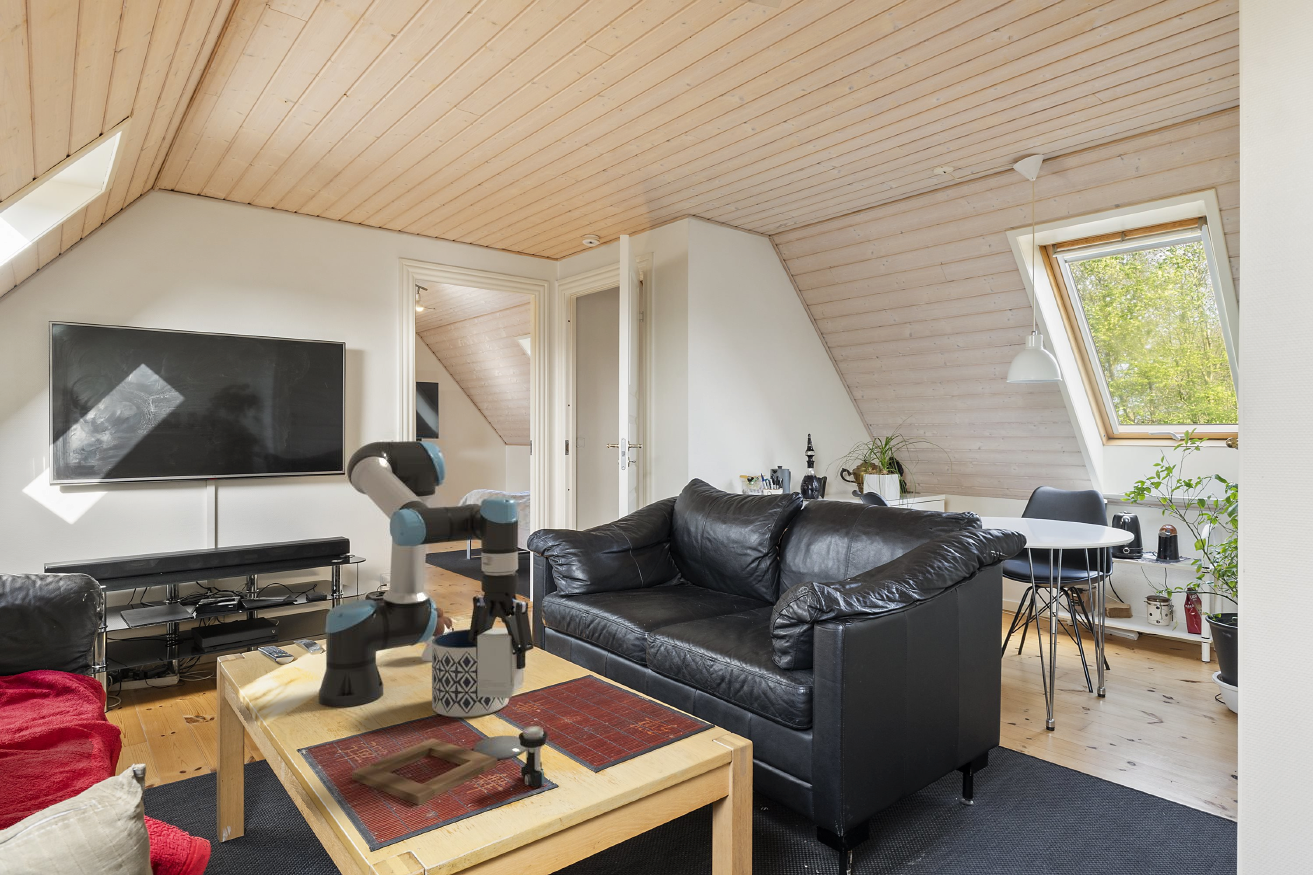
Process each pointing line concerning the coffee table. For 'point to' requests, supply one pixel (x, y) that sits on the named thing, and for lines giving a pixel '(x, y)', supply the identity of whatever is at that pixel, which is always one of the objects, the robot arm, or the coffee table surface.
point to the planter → (458, 678)
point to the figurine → (437, 633)
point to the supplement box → (495, 664)
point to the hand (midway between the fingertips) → (500, 680)
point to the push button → (533, 755)
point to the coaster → (500, 747)
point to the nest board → (420, 793)
